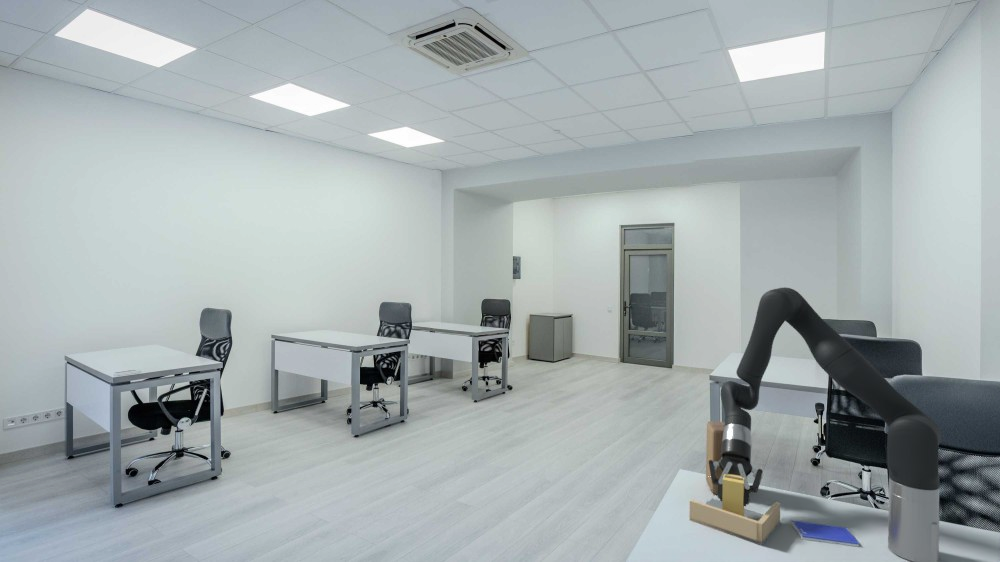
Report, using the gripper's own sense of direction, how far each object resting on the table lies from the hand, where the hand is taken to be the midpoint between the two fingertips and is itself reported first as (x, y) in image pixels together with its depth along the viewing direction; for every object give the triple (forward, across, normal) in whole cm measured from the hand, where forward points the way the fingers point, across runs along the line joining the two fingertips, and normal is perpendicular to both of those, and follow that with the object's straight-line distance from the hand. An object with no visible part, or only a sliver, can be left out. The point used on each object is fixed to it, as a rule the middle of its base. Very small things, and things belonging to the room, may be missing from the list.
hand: (733, 502), depth 130 cm
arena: (+2, 0, +6) cm, 7 cm away
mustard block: (+2, 0, +4) cm, 5 cm away
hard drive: (0, +21, +10) cm, 23 cm away
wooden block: (-12, -3, +21) cm, 24 cm away
